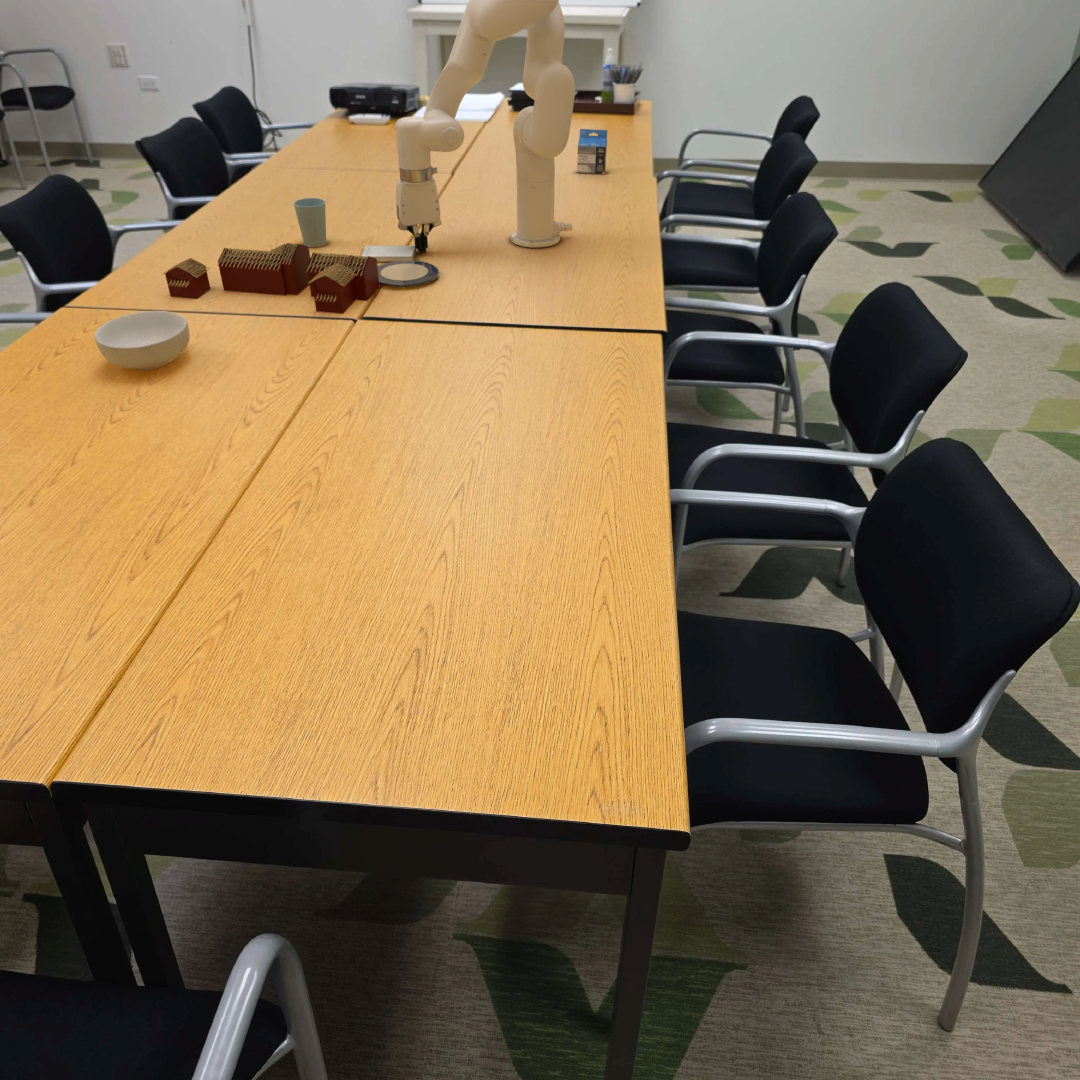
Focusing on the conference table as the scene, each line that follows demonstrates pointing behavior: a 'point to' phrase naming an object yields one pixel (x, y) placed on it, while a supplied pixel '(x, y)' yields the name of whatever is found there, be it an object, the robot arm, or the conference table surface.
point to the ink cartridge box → (592, 152)
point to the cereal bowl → (143, 339)
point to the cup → (312, 221)
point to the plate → (406, 273)
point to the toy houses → (283, 275)
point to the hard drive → (390, 253)
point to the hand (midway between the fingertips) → (421, 251)
